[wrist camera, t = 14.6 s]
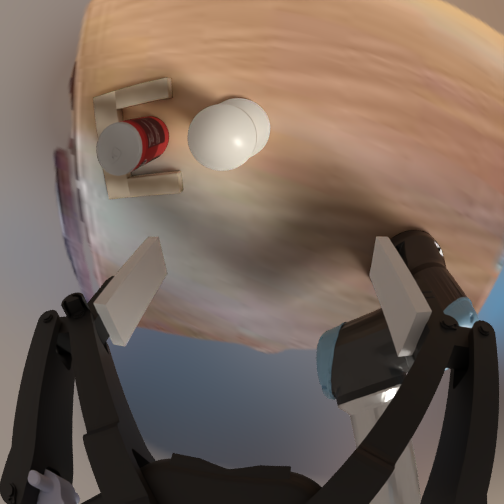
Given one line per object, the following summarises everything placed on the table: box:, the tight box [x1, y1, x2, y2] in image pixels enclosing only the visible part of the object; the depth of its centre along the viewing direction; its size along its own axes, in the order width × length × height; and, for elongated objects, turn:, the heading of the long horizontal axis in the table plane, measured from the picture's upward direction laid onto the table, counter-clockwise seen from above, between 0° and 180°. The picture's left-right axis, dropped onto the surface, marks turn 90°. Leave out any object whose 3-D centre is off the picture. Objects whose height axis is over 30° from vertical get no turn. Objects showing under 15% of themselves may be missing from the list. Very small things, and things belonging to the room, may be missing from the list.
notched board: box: [93, 78, 183, 199], centre depth 42 cm, size 20×15×2 cm
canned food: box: [97, 116, 169, 176], centre depth 38 cm, size 8×8×11 cm
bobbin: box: [188, 98, 270, 171], centre depth 35 cm, size 10×10×13 cm
